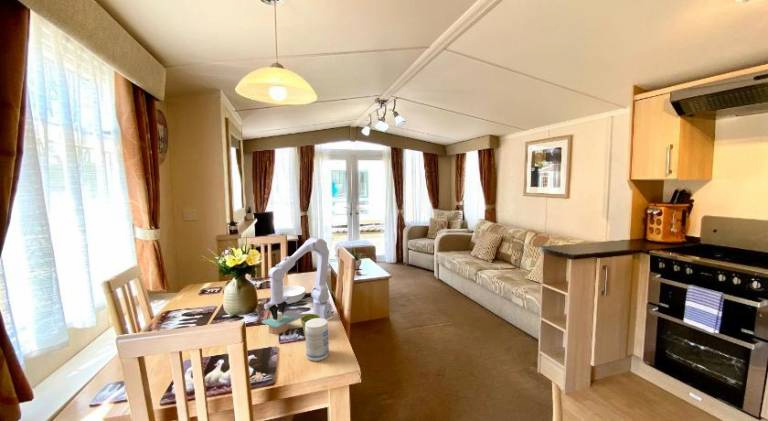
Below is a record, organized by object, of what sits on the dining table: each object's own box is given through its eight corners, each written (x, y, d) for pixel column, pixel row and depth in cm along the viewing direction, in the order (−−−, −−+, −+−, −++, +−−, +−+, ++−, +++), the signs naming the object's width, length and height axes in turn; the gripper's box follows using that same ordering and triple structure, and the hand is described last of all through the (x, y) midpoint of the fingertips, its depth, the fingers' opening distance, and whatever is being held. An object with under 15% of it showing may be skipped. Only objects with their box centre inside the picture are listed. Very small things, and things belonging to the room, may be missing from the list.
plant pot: (324, 333, 157) (324, 315, 156) (312, 341, 149) (312, 323, 148) (309, 329, 161) (308, 312, 160) (296, 337, 152) (296, 320, 152)
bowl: (291, 328, 162) (291, 320, 162) (277, 336, 154) (277, 328, 154) (279, 324, 167) (279, 317, 166) (265, 331, 159) (264, 323, 158)
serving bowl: (300, 308, 188) (300, 296, 188) (265, 308, 189) (264, 296, 188) (309, 295, 209) (309, 285, 208) (277, 295, 209) (277, 285, 209)
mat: (305, 315, 177) (305, 314, 177) (287, 324, 166) (287, 324, 166) (289, 310, 184) (288, 310, 184) (270, 319, 173) (270, 318, 173)
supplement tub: (329, 360, 133) (328, 326, 132) (306, 363, 131) (304, 328, 130) (328, 348, 143) (327, 316, 141) (306, 351, 141) (305, 318, 139)
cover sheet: (294, 319, 162) (294, 311, 162) (277, 328, 152) (276, 319, 152) (279, 314, 167) (278, 307, 167) (261, 323, 158) (261, 315, 158)
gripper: (282, 285, 167) (283, 311, 168) (259, 294, 154) (260, 321, 156) (292, 288, 163) (293, 313, 164) (269, 297, 151) (270, 325, 152)
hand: (278, 317), depth 160 cm, fingers closed on cover sheet, 3 cm apart
